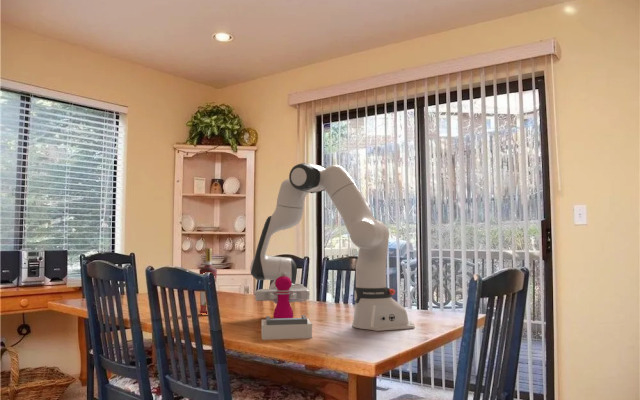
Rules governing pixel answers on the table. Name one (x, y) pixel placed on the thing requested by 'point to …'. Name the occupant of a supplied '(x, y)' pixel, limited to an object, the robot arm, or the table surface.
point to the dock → (286, 328)
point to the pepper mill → (283, 297)
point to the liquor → (207, 268)
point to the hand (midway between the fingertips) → (283, 297)
